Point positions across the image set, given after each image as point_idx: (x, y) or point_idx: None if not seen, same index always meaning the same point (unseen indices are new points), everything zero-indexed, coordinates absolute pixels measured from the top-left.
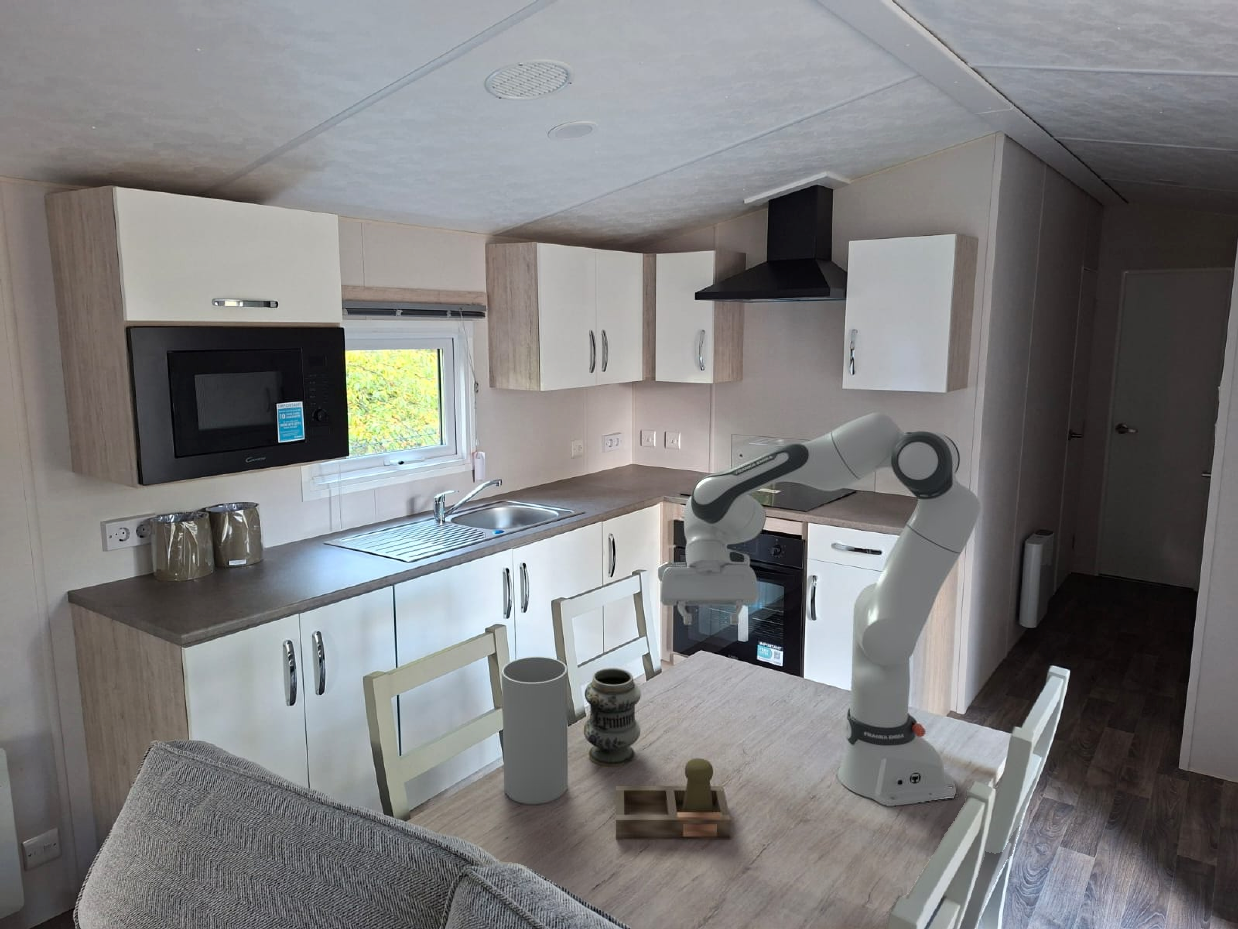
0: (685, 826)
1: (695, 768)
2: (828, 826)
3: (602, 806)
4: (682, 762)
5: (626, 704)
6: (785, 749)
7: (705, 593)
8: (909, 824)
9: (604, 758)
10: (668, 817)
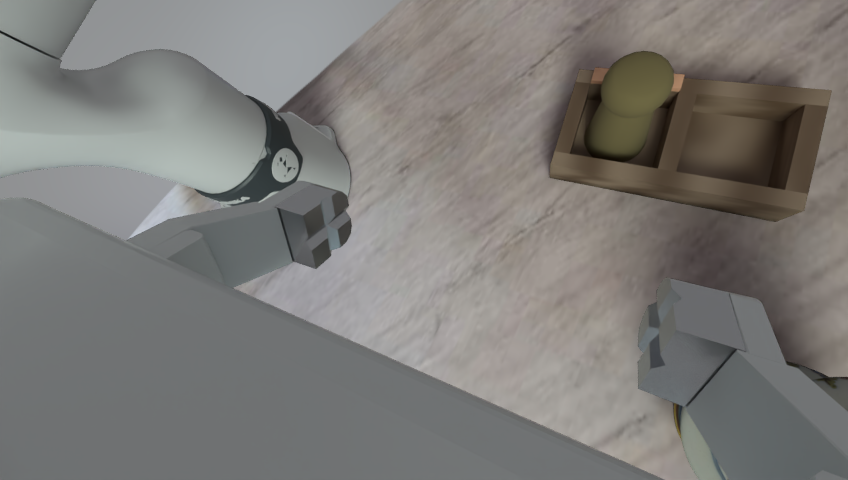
0: None
1: (658, 55)
2: (423, 101)
3: (811, 222)
4: (571, 329)
5: (832, 378)
6: (369, 307)
7: (394, 450)
8: (331, 93)
9: None
10: (700, 86)
